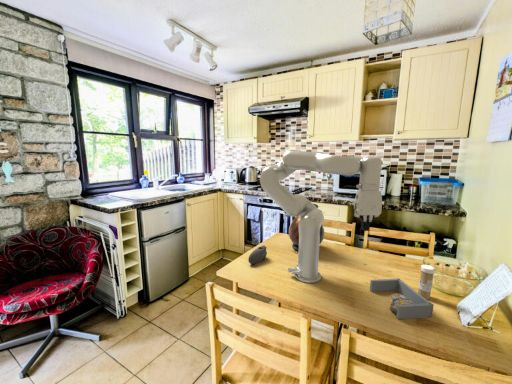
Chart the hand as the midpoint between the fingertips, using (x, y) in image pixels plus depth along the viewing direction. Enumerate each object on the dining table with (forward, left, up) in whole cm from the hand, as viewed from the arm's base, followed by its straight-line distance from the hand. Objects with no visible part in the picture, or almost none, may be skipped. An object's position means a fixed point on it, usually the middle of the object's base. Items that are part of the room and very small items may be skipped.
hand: (365, 230), depth 102 cm
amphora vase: (-11, +45, -27) cm, 53 cm away
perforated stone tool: (-42, +30, -27) cm, 59 cm away
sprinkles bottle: (+24, -8, -27) cm, 37 cm away
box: (+10, -11, -27) cm, 31 cm away
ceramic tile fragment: (+10, -14, -28) cm, 33 cm away
